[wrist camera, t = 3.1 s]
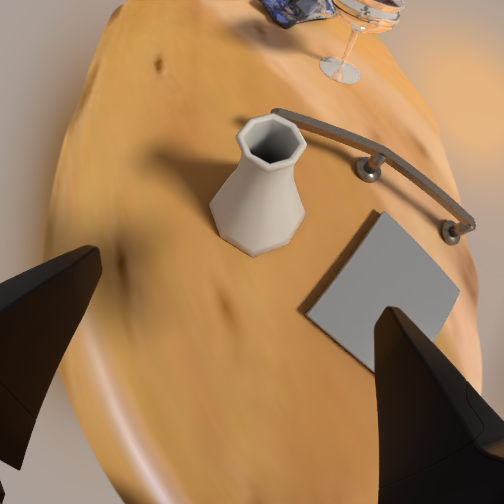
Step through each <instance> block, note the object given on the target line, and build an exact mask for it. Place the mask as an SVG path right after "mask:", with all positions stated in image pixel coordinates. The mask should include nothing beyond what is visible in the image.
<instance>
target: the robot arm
mask: <svg viewBox="0 0 504 504" xmlns="http://www.w3.org/2000/svg"><path fill="white" fill-rule="evenodd" d="M101 275H102V263H101V256H100V251H99V248H98V247H96V246H92V245H85V246H82V247H80V248H77V249H75V250H73V251H70V252H68V253H65V254H63V255H61V256H58V257H56V258H54V259H52V260H49V261H47V262H45V263H43V264H40V265H38V266H36V267H34V268H32V269H30V270H27V271H25V272H23V273H21V274H19V275H17V276H15V277H13V278H11V279H8V280H7V281H4V282H2V283H1V284H0V460H1V461H3V462H4V463H6V464H8V465H10V466H11V467H13V468H15V469H17V470H20V469H21V466H22V463H23V459H24V456H25V452H26V449H27V446H28V443H29V440H30V437H31V433H32V431H33V428H34V425H35V422H36V419H37V416H38V414H39V411H40V408H41V406H42V403H43V400H44V398H45V396H46V393H47V391H48V388H49V386H50V384H51V382H52V379H53V377H54V375H55V372H56V370H57V368H58V366H59V364H60V361H61V359H62V357H63V355H64V353H65V351H66V349H67V347H68V345H69V343H70V341H71V339H72V337H73V335H74V333H75V331H76V329H77V327H78V325H79V323H80V321H81V320H82V318H83V316H84V314H85V311H86V309H87V307H88V305H89V302H90V300H91V297H92V295H93V293H94V291H95V288H96V286H97V284H98V282H99V279H100V277H101ZM374 373H375V385H376V397H377V411H378V430H379V491H378V504H504V421H503V420H502V419H501V418H500V417H499V415H498V414H497V413H496V412H495V411H494V410H493V409H492V408H491V407H490V406H489V405H488V404H487V403H486V402H485V400H484V399H483V398H482V397H481V396H480V395H479V394H478V393H477V391H476V390H475V389H474V388H473V387H472V386H471V385H470V383H469V382H468V381H466V379H465V378H464V376H463V375H462V374H461V373H460V372H459V371H458V370H457V369H456V367H455V366H454V365H453V364H452V363H451V362H450V361H449V360H448V359H447V357H446V356H445V355H444V354H443V353H442V352H441V351H440V350H439V349H438V348H437V347H436V345H435V344H434V343H433V342H432V341H431V340H430V339H429V338H428V337H427V336H426V335H425V334H424V333H423V332H422V331H421V330H420V329H419V328H418V326H417V325H416V324H415V323H414V322H413V321H412V320H411V319H410V318H409V317H408V316H407V315H406V314H405V313H404V312H403V311H402V310H401V309H400V308H398V307H394V306H387V307H386V308H385V309H384V310H383V312H382V314H381V315H380V317H379V319H378V320H377V322H376V324H375V326H374ZM4 496H5V492H4V490H3V487H2V484H1V481H0V504H2V502H3V499H4Z"/></svg>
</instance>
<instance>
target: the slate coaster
mask: <svg viewBox="0 0 504 504" xmlns="http://www.w3.org/2000/svg"><path fill="white" fill-rule="evenodd" d="M459 293H460V290H459V289H458V288H457V286H456V285H455V284H454V283H453V282H452V280H451V279H450V278H449V277H448V276H447V275H446V274H445V272H444V271H443V270H442V269H441V268H440V267H439V266H438V264H437V263H436V262H435V261H434V260H433V259H432V258H431V257H430V256H429V255H428V254H427V253H426V251H425V250H424V249H423V248H422V247H421V246H420V245H419V244H418V243H417V242H416V241H415V240H414V239H413V238H412V237H411V236H410V235H409V234H408V233H407V232H406V231H405V230H404V229H403V228H402V227H401V226H400V225H399V224H398V223H397V222H396V221H395V220H394V219H393V218H392V217H391V216H390V215H389V214H388V213H387V212H385V211H383V212H382V213H380V215H379V216H378V218H377V219H376V221H375V222H374V224H373V225H372V226H371V228H370V229H369V231H368V232H367V234H366V235H365V236H364V238H363V239H362V241H361V242H360V243H359V245H358V246H357V248H356V249H355V250H354V252H353V253H352V255H351V256H350V257H349V259H348V260H347V261H346V263H345V264H344V265H343V267H342V268H341V269H340V271H339V272H338V273H337V275H336V276H335V277H334V279H333V280H332V281H331V282H330V284H329V285H328V286H327V288H326V289H325V290H324V291H323V293H322V294H321V295H320V296H319V298H318V299H317V300H316V302H315V303H314V304H313V305H312V306H311V308H310V309H309V310H308V311H307V313H306V314H305V316H307V317H308V318H309V319H310V320H311V321H312V322H314V323H315V324H316V325H317V326H318V327H319V328H321V329H322V330H323V331H324V332H325V333H326V334H328V335H329V336H330V337H331V338H332V339H334V340H335V341H336V342H337V343H338V344H339V345H341V346H342V347H343V348H344V349H345V350H347V351H348V352H349V353H350V354H351V355H353V356H354V357H355V358H356V359H357V360H359V361H360V362H361V363H362V364H363V365H365V366H366V367H367V368H368V369H369V370H370V371H372V372H373V373H374V326H375V324H376V322H377V320H378V319H379V317H380V315H381V314H382V312H383V310H384V309H385V308H386V307H387V306H394V307H398V308H400V309H401V310H402V311H403V312H404V313H405V314H406V315H407V316H408V317H409V318H410V319H411V320H412V321H413V322H414V323H415V324H416V325H417V326H418V328H419V329H420V330H421V331H422V332H423V333H424V334H425V335H426V336H427V337H428V338H429V339H430V340H431V341H432V342H433V343H434V341H435V339H436V337H437V336H438V334H439V332H440V330H441V329H442V327H443V325H444V323H445V321H446V319H447V317H448V315H449V314H450V312H451V310H452V308H453V306H454V304H455V301H456V299H457V297H458V295H459ZM374 374H375V373H374Z"/></svg>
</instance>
